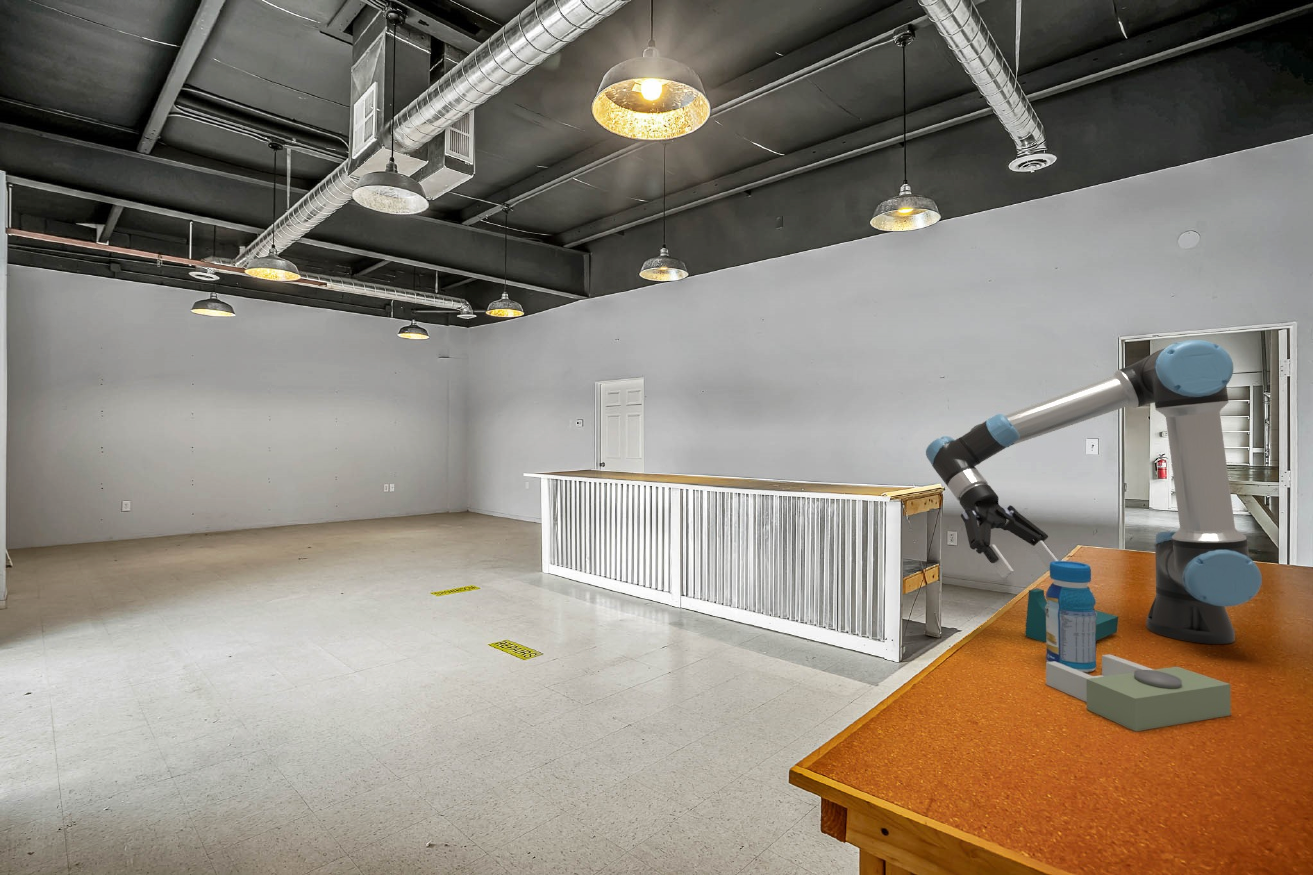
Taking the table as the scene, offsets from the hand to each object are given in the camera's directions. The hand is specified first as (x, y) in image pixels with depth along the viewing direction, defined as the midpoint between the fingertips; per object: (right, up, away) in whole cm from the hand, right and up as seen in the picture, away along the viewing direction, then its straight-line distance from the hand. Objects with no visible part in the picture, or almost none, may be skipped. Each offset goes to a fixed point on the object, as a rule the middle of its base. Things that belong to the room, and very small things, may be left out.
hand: (1033, 572), depth 128 cm
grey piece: (+2, -17, -22) cm, 28 cm away
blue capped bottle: (+3, -17, -7) cm, 19 cm away
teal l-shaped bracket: (+15, -17, +11) cm, 25 cm away
